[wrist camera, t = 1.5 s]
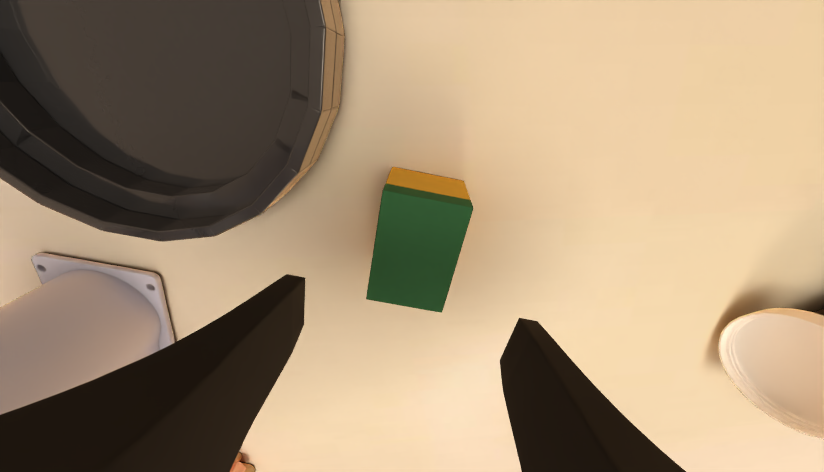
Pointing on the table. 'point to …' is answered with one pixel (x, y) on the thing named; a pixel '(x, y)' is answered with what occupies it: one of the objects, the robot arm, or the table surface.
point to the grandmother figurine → (241, 465)
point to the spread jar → (779, 364)
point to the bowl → (165, 107)
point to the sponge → (418, 239)
